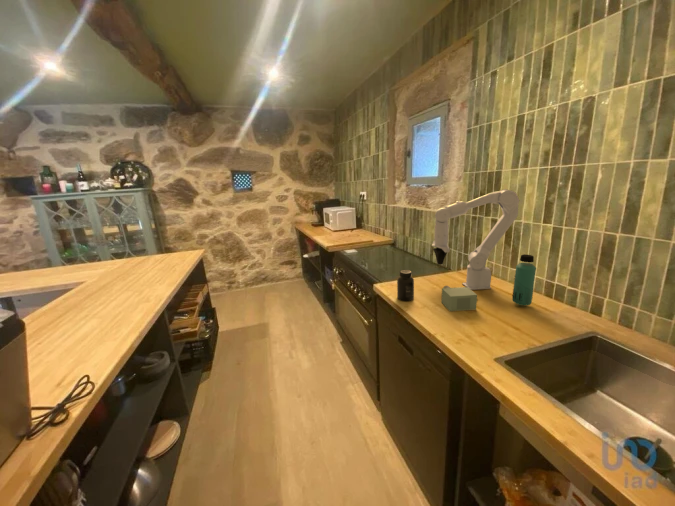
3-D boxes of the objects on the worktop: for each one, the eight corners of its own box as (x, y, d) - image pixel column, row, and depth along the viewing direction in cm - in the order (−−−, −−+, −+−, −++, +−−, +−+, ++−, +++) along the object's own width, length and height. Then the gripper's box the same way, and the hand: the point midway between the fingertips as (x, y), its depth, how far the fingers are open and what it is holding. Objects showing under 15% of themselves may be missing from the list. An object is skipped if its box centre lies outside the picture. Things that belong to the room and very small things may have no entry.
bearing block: (465, 300, 112) (466, 286, 111) (476, 309, 105) (477, 294, 103) (441, 302, 112) (442, 288, 111) (449, 311, 104) (450, 296, 103)
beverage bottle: (532, 304, 106) (539, 254, 101) (529, 311, 102) (536, 258, 97) (513, 300, 111) (519, 252, 106) (509, 306, 106) (515, 255, 101)
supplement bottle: (414, 295, 120) (415, 269, 117) (413, 302, 113) (413, 274, 110) (398, 294, 122) (398, 268, 119) (396, 300, 116) (396, 273, 113)
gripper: (426, 232, 133) (426, 259, 136) (438, 238, 119) (437, 268, 122) (441, 231, 133) (440, 259, 136) (455, 237, 119) (453, 268, 122)
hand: (439, 263), depth 129 cm, fingers closed
